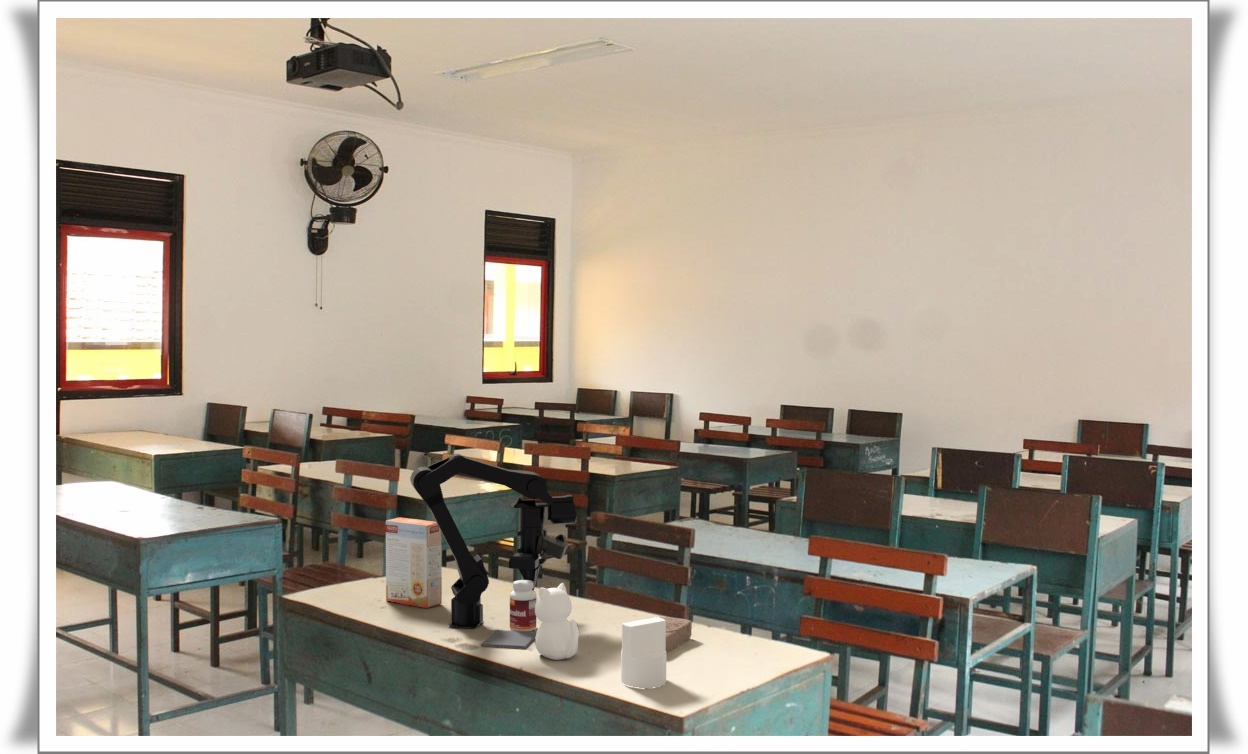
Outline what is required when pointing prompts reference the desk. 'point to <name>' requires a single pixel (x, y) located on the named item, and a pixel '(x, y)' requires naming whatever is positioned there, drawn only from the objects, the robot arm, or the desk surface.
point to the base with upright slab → (644, 653)
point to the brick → (676, 632)
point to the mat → (509, 639)
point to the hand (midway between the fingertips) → (531, 590)
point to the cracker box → (413, 562)
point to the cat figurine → (555, 624)
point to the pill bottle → (523, 606)
